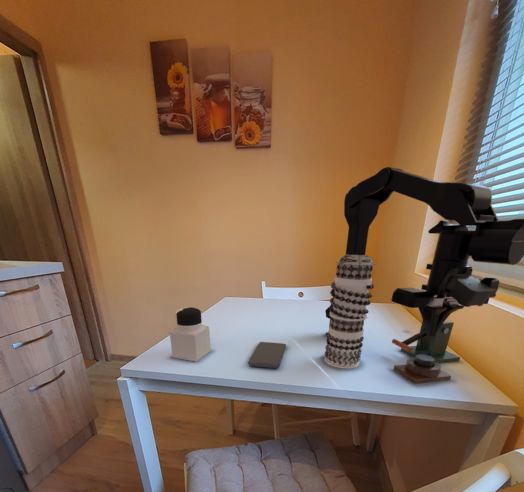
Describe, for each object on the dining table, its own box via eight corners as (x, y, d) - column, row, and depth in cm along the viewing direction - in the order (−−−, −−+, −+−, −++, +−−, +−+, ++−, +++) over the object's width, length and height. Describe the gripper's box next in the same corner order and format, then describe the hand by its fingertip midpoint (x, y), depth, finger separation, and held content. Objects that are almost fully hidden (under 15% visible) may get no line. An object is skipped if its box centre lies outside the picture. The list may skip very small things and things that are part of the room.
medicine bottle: (211, 351, 74) (208, 307, 69) (196, 362, 67) (192, 314, 63) (188, 347, 76) (183, 304, 71) (172, 357, 70) (166, 311, 65)
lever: (408, 355, 67) (407, 346, 66) (392, 345, 72) (390, 338, 71) (451, 332, 67) (450, 324, 66) (432, 325, 73) (431, 317, 72)
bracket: (425, 365, 67) (435, 327, 64) (400, 351, 75) (408, 316, 72) (459, 361, 70) (471, 324, 66) (431, 348, 78) (440, 314, 74)
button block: (414, 385, 59) (418, 372, 57) (393, 370, 65) (395, 358, 64) (449, 380, 61) (453, 368, 59) (425, 366, 67) (428, 355, 66)
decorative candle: (345, 351, 74) (359, 253, 65) (369, 366, 66) (389, 256, 57) (315, 356, 71) (325, 254, 62) (336, 372, 64) (351, 257, 54)
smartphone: (286, 343, 77) (278, 365, 64) (286, 346, 78) (278, 369, 64) (259, 341, 79) (246, 362, 65) (259, 344, 79) (246, 366, 65)
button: (422, 369, 60) (424, 361, 59) (410, 362, 63) (412, 355, 62) (436, 367, 60) (438, 360, 60) (423, 360, 64) (425, 353, 63)
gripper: (444, 264, 44) (421, 354, 50) (533, 263, 48) (501, 346, 54) (397, 258, 54) (382, 334, 60) (474, 258, 58) (453, 328, 64)
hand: (430, 336), depth 59 cm, fingers closed
